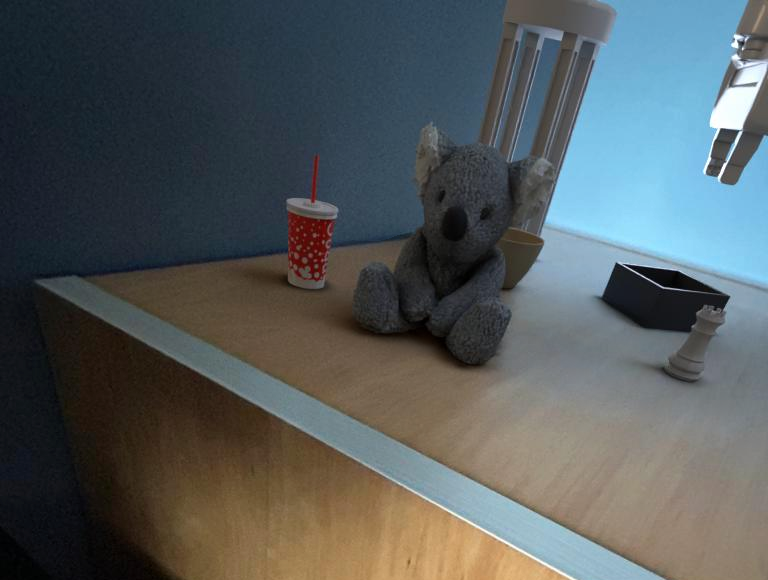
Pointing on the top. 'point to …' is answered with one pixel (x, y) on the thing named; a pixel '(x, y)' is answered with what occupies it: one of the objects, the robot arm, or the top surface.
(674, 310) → the bin
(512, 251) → the flower pot
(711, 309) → the rook chess piece
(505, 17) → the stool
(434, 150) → the koala plush
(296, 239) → the beverage cup
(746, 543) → the top surface
